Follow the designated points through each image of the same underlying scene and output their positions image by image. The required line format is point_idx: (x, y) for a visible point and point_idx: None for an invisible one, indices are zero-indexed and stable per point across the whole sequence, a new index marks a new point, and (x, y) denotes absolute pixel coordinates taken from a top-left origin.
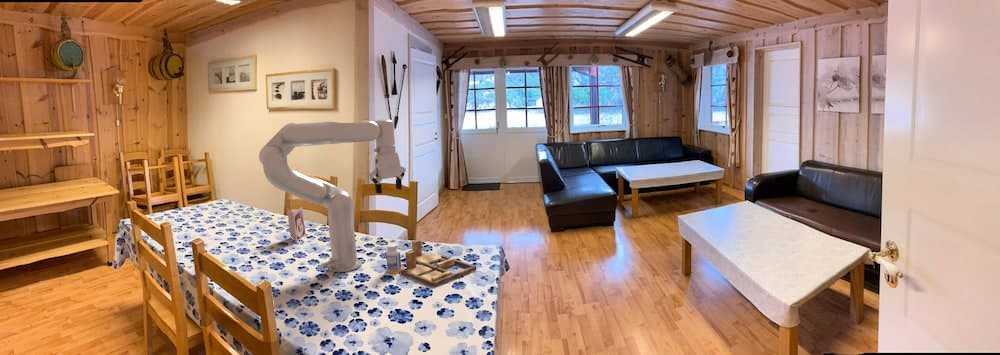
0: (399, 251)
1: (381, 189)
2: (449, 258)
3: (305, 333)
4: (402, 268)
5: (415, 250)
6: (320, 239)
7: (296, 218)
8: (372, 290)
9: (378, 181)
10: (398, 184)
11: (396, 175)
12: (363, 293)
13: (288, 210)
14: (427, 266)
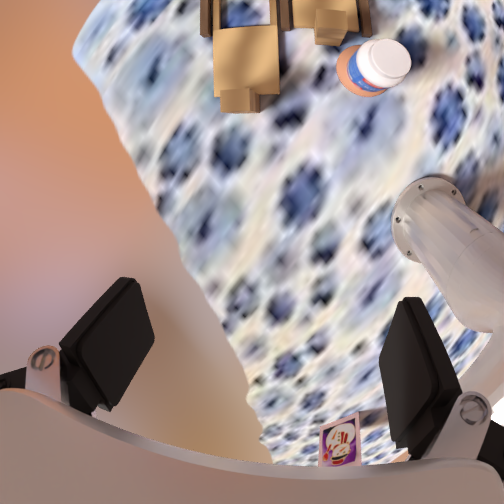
0: (365, 42)
1: (415, 329)
2: (206, 2)
3: None
4: (348, 54)
5: (254, 94)
6: (319, 404)
7: (350, 455)
8: (466, 35)
9: (480, 428)
10: (119, 336)
11: (60, 429)
12: (483, 44)
13: None
14: (288, 5)
